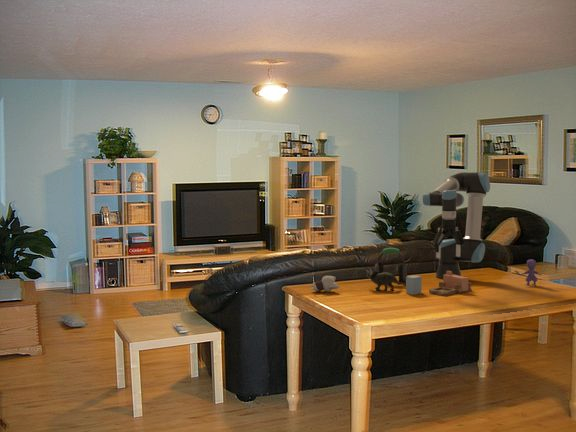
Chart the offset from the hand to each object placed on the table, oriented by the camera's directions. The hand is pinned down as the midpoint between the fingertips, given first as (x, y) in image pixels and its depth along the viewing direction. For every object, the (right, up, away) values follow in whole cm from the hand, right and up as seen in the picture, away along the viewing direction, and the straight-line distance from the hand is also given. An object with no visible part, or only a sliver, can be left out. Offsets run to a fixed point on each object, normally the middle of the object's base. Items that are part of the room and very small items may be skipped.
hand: (448, 257), depth 361 cm
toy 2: (+51, -17, +15) cm, 56 cm away
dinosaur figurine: (-34, -19, +6) cm, 39 cm away
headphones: (-27, -16, +30) cm, 44 cm away
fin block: (-19, -19, -3) cm, 27 cm away
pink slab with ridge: (+5, -18, +3) cm, 18 cm away
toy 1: (-67, -19, +1) cm, 70 cm away
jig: (0, -19, 0) cm, 19 cm away
